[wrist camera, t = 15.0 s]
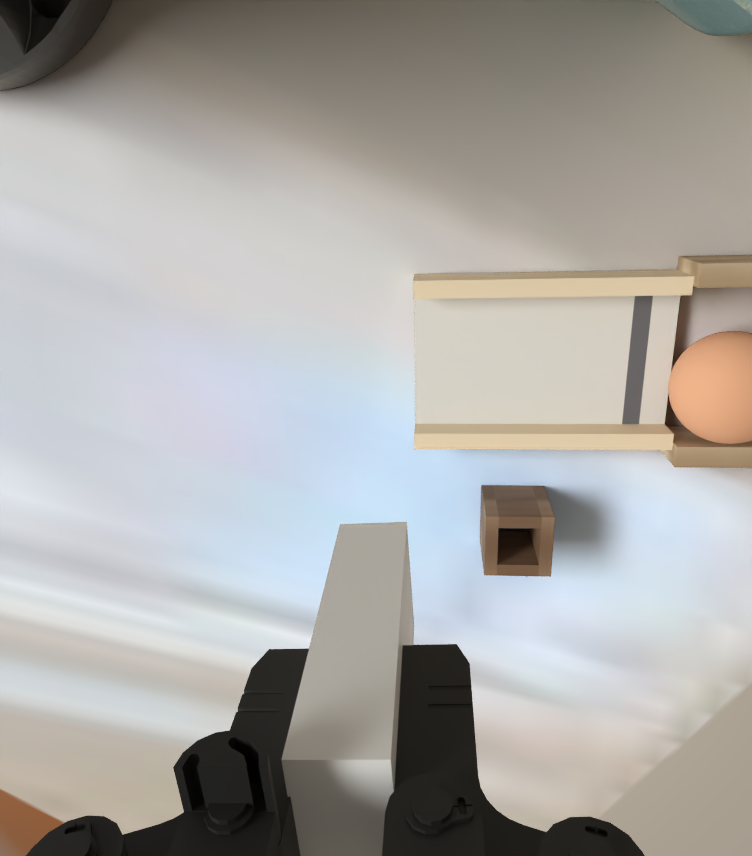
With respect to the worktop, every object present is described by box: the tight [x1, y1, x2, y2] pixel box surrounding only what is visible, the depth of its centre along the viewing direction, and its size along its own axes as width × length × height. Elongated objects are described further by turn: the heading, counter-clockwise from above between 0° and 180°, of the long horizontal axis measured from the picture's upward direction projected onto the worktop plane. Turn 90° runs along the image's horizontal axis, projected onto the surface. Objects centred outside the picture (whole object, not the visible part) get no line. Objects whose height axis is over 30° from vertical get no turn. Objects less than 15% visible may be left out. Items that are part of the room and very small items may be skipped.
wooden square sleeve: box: [480, 486, 555, 576], centre depth 35 cm, size 3×3×4 cm
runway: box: [413, 270, 694, 450], centre depth 32 cm, size 8×12×2 cm, turn 92°
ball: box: [668, 331, 752, 444], centre depth 31 cm, size 5×5×5 cm
